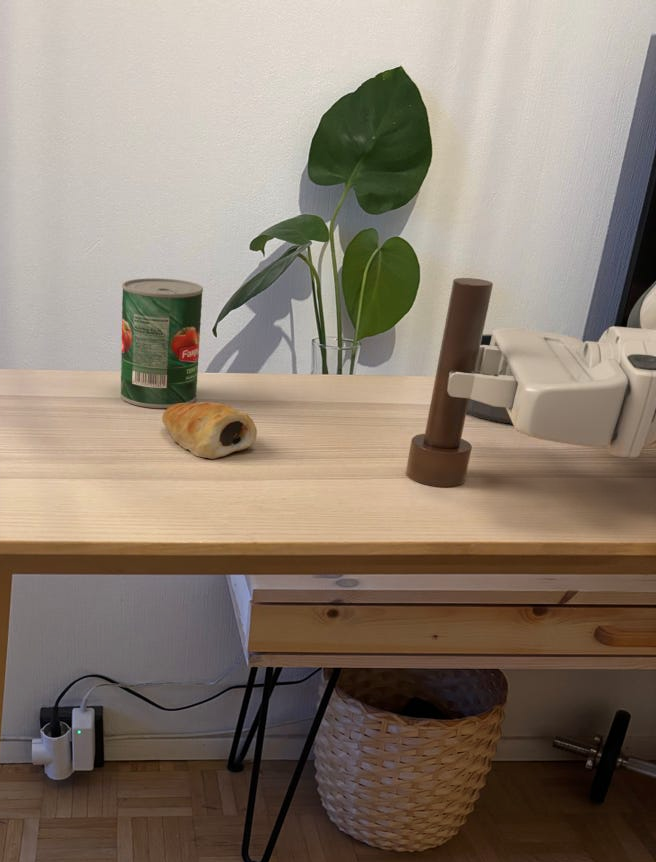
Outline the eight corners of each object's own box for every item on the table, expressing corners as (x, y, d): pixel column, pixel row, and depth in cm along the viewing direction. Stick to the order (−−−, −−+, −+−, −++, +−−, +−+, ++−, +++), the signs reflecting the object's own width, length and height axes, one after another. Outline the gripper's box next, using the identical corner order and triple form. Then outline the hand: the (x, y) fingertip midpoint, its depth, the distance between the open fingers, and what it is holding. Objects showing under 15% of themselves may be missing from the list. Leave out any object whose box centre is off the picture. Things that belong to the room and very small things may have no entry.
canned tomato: (115, 386, 101) (117, 277, 95) (188, 386, 102) (194, 278, 97) (125, 409, 94) (127, 293, 89) (203, 408, 96) (210, 294, 90)
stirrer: (477, 481, 82) (520, 285, 73) (434, 490, 79) (473, 289, 71) (436, 462, 85) (472, 274, 77) (393, 470, 83) (426, 277, 75)
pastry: (143, 431, 89) (144, 391, 87) (200, 421, 92) (203, 382, 90) (205, 463, 82) (208, 419, 80) (264, 450, 86) (268, 408, 84)
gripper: (602, 317, 83) (441, 304, 85) (668, 380, 66) (464, 362, 68) (583, 388, 87) (428, 375, 88) (641, 466, 69) (447, 447, 71)
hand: (444, 370), depth 78 cm, fingers open, 6 cm apart
